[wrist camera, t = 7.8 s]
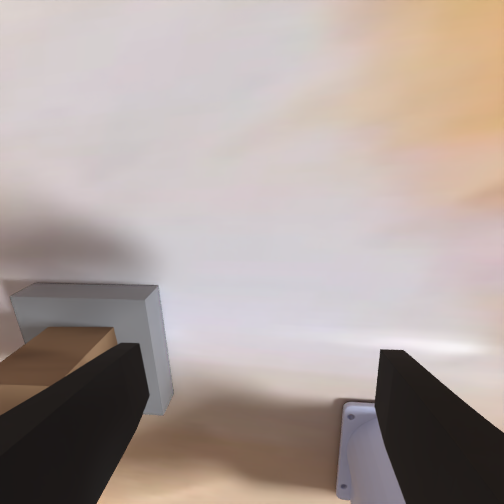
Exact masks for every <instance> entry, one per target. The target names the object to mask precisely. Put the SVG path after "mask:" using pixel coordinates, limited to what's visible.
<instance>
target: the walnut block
mask: <svg viewBox="0 0 504 504" xmlns="http://www.w3.org/2000/svg"><path fill="white" fill-rule="evenodd" d="M117 344H118V343H117V339H116V335H115V331H114V327H48V328H46V329H45V330H44V331H42V332H41V333H40V334H38V335H37V336H36V337H34V338H33V339H32V340H30V341H29V342H27V343H26V344H25V345H23V346H22V347H21V348H19V349H18V350H17V351H15V352H14V353H13V354H11V355H10V356H9V357H7V358H6V359H4V360H3V361H2V362H0V415H2V414H3V413H5V412H7V411H9V410H10V409H12V408H14V407H15V406H17V405H19V404H20V403H22V402H24V401H26V400H27V399H29V398H31V397H32V396H34V395H36V394H37V393H39V392H41V391H43V390H44V389H46V388H48V387H49V386H51V385H52V384H54V383H56V382H57V381H59V380H60V379H62V378H64V377H65V376H67V375H68V374H70V373H72V372H73V371H75V370H76V369H78V368H80V367H81V366H83V365H84V364H86V363H87V362H89V361H91V360H92V359H94V358H95V357H97V356H99V355H100V354H102V353H104V352H105V351H107V350H109V349H110V348H112V347H114V346H116V345H117Z"/></svg>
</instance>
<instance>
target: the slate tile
mask: <svg viewBox="0 0 504 504" xmlns="http://www.w3.org/2000/svg"><path fill="white" fill-rule="evenodd" d="M10 299H11V302H12V305H13V308H14V311H15V315H16V318H17V321H18V324H19V327H20V330H21V333H22V336H23V339H24V342H25V344H26V343H27V342H29V341H30V340H32V339H33V338H34V337H36V336H37V335H38V334H40V333H41V332H42V331H44V330H45V329H46V328H48V327H114V331H115V335H116V339H117V343H118V344H119V343H140V348H141V353H142V358H143V363H144V368H145V373H146V379H147V384H148V389H149V394H150V396H149V399H148V402H147V404H146V407H145V409H144V412H143V414H149V415H164V413H165V411H166V409H167V407H168V405H169V403H170V400H171V398H172V396H173V394H174V392H173V385H172V378H171V371H170V364H169V357H168V350H167V343H166V336H165V329H164V322H163V315H162V308H161V301H160V294H159V287H158V286H148V285H99V284H51V283H34V284H32V285H30V286H28V287H27V288H25V289H23V290H21V291H19V292H17V293H15V294H13V295H11V296H10Z"/></svg>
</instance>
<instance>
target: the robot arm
mask: <svg viewBox="0 0 504 504" xmlns="http://www.w3.org/2000/svg"><path fill="white" fill-rule="evenodd" d="M149 396H150V394H149V389H148V384H147V379H146V373H145V368H144V363H143V358H142V353H141V348H140V343H119V344H117V345H116V346H114V347H112V348H110V349H109V350H107V351H105V352H104V353H102V354H100V355H99V356H97V357H95V358H94V359H92V360H91V361H89V362H87V363H86V364H84V365H83V366H81V367H80V368H78V369H76V370H75V371H73V372H72V373H70V374H68V375H67V376H65V377H64V378H62V379H60V380H59V381H57V382H56V383H54V384H52V385H51V386H49V387H48V388H46V389H44V390H43V391H41V392H39V393H37V394H36V395H34V396H32V397H31V398H29V399H27V400H26V401H24V402H22V403H20V404H19V405H17V406H15V407H14V408H12V409H10V410H9V411H7V412H5V413H3V414H2V415H0V504H96V503H97V502H98V500H99V498H100V496H101V494H102V492H103V491H104V489H105V487H106V485H107V483H108V481H109V480H110V478H111V476H112V474H113V472H114V470H115V469H116V467H117V465H118V463H119V461H120V459H121V457H122V456H123V454H124V452H125V450H126V448H127V446H128V444H129V442H130V441H131V439H132V437H133V435H134V433H135V431H136V429H137V427H138V424H139V422H140V419H141V417H142V415H143V412H144V409H145V407H146V404H147V402H148V399H149ZM349 414H352V415H349ZM336 495H337V497H338V498H340V499H343V500H350V502H351V504H504V433H503V432H502V431H501V430H499V429H498V428H497V427H495V426H494V425H493V424H491V423H490V422H489V421H488V420H486V419H485V418H484V417H483V416H481V415H480V414H479V413H478V412H476V411H475V410H474V409H473V408H471V407H470V406H469V405H468V404H466V403H465V402H464V401H463V400H462V399H460V398H459V397H458V396H457V395H456V394H454V393H453V392H452V391H451V390H450V389H448V388H447V387H446V386H445V385H444V384H443V383H441V382H440V381H439V380H438V379H437V378H436V377H434V376H433V375H432V374H431V373H430V372H429V371H427V370H426V369H425V368H424V367H423V366H422V365H420V364H419V363H418V362H417V361H416V360H415V359H413V358H412V357H411V356H410V355H409V354H407V353H406V352H405V351H404V350H382V349H380V358H379V368H378V377H377V387H376V396H375V403H362V402H347V403H345V404H344V406H343V415H342V426H341V437H340V449H339V460H338V471H337V483H336Z"/></svg>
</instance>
